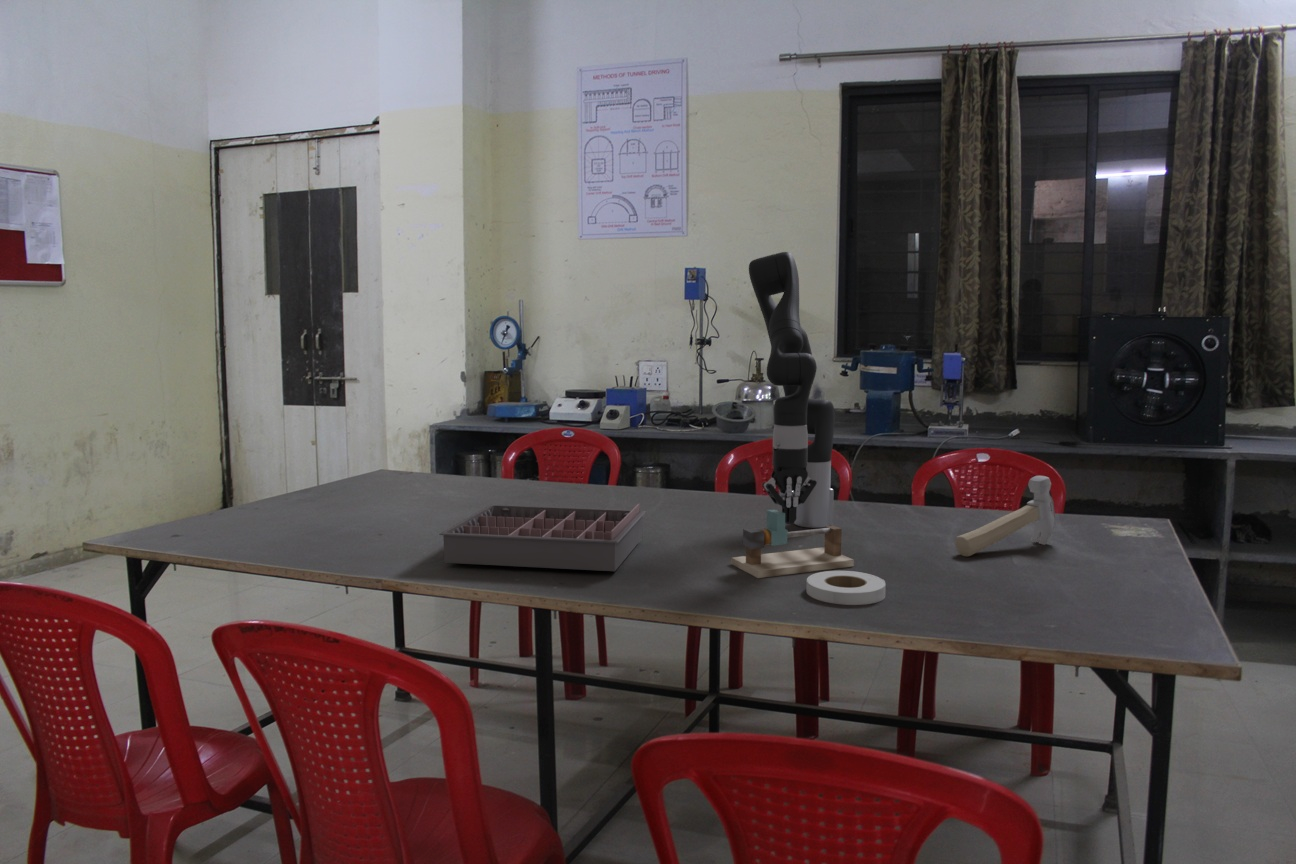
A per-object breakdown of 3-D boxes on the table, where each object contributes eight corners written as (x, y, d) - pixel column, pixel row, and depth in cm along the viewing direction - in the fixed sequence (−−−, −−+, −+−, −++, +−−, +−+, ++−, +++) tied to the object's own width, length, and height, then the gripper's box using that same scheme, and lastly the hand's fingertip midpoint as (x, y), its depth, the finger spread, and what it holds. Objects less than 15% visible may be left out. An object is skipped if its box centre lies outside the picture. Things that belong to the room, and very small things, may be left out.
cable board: (823, 553, 217) (824, 516, 216) (853, 566, 206) (854, 527, 205) (731, 564, 208) (731, 525, 207) (757, 578, 197) (758, 537, 196)
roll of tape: (835, 610, 176) (835, 595, 176) (791, 588, 190) (792, 575, 190) (902, 600, 182) (902, 586, 182) (854, 580, 196) (855, 567, 196)
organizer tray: (490, 535, 236) (489, 496, 235) (646, 542, 228) (646, 502, 227) (439, 569, 205) (438, 525, 203) (617, 579, 197) (617, 532, 196)
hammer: (966, 517, 210) (1053, 476, 224) (950, 514, 214) (1036, 474, 228) (974, 581, 214) (1059, 537, 227) (958, 576, 218) (1043, 533, 231)
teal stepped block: (778, 540, 207) (778, 509, 206) (788, 544, 203) (789, 513, 202) (762, 541, 206) (763, 510, 205) (772, 546, 202) (773, 514, 201)
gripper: (807, 441, 209) (805, 517, 211) (754, 444, 204) (754, 522, 206) (825, 445, 202) (824, 524, 204) (772, 449, 197) (771, 529, 199)
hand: (788, 523), depth 205 cm, fingers closed
